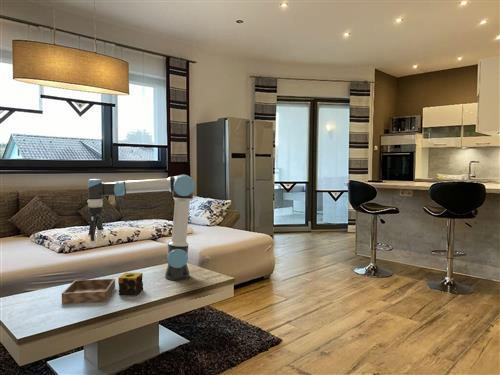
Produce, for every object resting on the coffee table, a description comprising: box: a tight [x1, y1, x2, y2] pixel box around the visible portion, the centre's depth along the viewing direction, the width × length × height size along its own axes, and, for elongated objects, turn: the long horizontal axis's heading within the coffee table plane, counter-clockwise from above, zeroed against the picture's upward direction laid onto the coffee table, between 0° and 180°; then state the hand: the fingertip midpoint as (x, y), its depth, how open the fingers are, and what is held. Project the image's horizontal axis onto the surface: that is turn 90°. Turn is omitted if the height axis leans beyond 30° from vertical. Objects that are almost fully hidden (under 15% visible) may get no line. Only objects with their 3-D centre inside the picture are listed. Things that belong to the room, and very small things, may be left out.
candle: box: [117, 272, 144, 297], centre depth 206 cm, size 10×10×10 cm
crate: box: [61, 278, 116, 305], centre depth 202 cm, size 22×22×6 cm
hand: (96, 243), depth 212 cm, fingers open, 13 cm apart
